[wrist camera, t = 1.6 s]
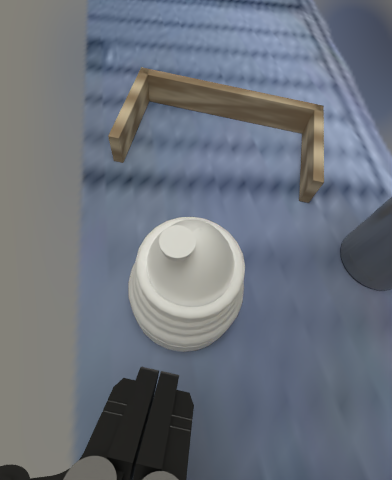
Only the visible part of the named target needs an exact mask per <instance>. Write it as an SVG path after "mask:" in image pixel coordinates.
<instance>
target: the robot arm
mask: <svg viewBox="0 0 392 480" xmlns="http://www.w3.org/2000/svg"><path fill="white" fill-rule="evenodd" d="M341 258H342V261H343V264H344V266H345V267H346V269H347V271H348V272H349V273H350V274H351V276H352V277H354V278H355V279H356V280H357V281H358V282H360V283H361V284H363V285H365V286H367V287H369V288H372V289H375V290H390V289H392V197H391V198H390V199H389V200H388V201H386V202H385V203H384V204H383V205H382V206H381V207H380V208H378V209H377V210H376V211H375V212H374V213H373V214H372V215H370V216H369V217H368V218H367V219H366V220H365V221H364V222H362V223H361V224H360V225H359V226H358V227H357V228H356V229H354V230H353V231H352V232H351V233H350V234H349V235H348V236H347V237H346V238H345V239H344V240H343V243H342V245H341ZM158 374H159V371H158V370H154V369H149V368H145V367H141V368H140V370H139V373H138V375H137V378H136V381H135V380H130V379H126V378H123V379H122V380H121V381H120V382H119V383H118V384H116V385H115V386H114V387H113V390H112V392H111V394H110V396H109V398H108V401H107V403H106V405H105V407H104V409H103V412H102V414H101V416H100V418H99V420H98V423H97V425H96V427H95V429H94V431H93V434H92V436H91V438H90V440H89V442H88V445H87V447H86V449H85V451H84V453H83V455H82V457H81V458H80V459H79V461H78V462H76V463H75V464H74V465H73V466H72V467H71V468H70V469H68V470H66V471H64V472H63V473H60V474H57V475H53V476H47V477H39V478H32V479H30V477H29V474H28V472H27V471H26V470H25V469H24V468H22V467H20V466H17V465H4V466H0V480H186V475H187V465H188V456H189V446H190V436H191V427H192V417H193V408H194V405H193V402H192V399H191V396H190V393H188V392H183V391H179V390H176V389H177V384H178V378H179V375H176V374H172V373H167V372H163V371H161V373H160V377H159V380H158V384H157V379H158ZM156 384H157V388H156ZM155 389H156V391H155ZM154 394H155V395H154Z"/></svg>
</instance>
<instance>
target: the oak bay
mask: <svg viewBox="0 0 392 480" xmlns="http://www.w3.org/2000/svg"><path fill="white" fill-rule="evenodd" d="M149 101H151V102H156V103H160V104H165V105H170V106H175V107H179V108H184V109H189V110H193V111H198V112H203V113H208V114H212V115H217V116H222V117H226V118H231V119H236V120H240V121H245V122H250V123H255V124H259V125H264V126H269V127H273V128H278V129H283V130H288V131H292V132H297V133H302V149H301V172H300V195H299V201H302V202H307V203H309V202H310V201H311V199H312V198H313V196H314V195H315V194H316V192H317V191H318V190H319V188H320V187H321V186H322V184H323V183H324V117H323V106H322V105H317V104H313V103H308V102H303V101H298V100H294V99H289V98H284V97H279V96H275V95H270V94H265V93H260V92H256V91H251V90H246V89H241V88H237V87H232V86H227V85H222V84H218V83H213V82H208V81H203V80H199V79H194V78H189V77H184V76H180V75H175V74H170V73H165V72H161V71H156V70H151V69H146V68H142V67H141V69H140V71H139V73H138V76H137V78H136V80H135V82H134V84H133V86H132V88H131V90H130V92H129V94H128V96H127V98H126V100H125V103H124V105H123V107H122V109H121V111H120V113H119V115H118V117H117V119H116V121H115V123H114V125H113V127H112V130H111V132H110V134H109V136H108V137H109V141H110V146H111V150H112V154H113V159H114V161H118V162H122V163H123V162H124V160H125V157H126V155H127V153H128V150H129V148H130V146H131V143H132V141H133V138H134V136H135V134H136V131H137V129H138V127H139V124H140V122H141V120H142V117H143V115H144V112H145V110H146V108H147V105H148V103H149Z"/></svg>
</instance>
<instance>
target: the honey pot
mask: <svg viewBox="0 0 392 480" xmlns="http://www.w3.org/2000/svg"><path fill="white" fill-rule="evenodd" d="M244 273H245V263H244V258H243V253H242V251H241V249H240V247H239V245H238V243H237V242H236V240H235V239H234V238H233V237H232V236H231V234H230V233H229V232H228V231H226V230H225V229H224V228H222V227H221V226H219V225H218V224H216V223H213V222H211V221H209V220H206V219H202V218H196V217H180V218H176V219H172V220H169V221H166V222H164V223H163V224H161V225H159V226H157V227H155V228H154V229H153V230H152V231H151V232H150V233H149V234H148V235H147V236H146V237H145V239H144V241H143V242H142V244H141V246H140V247H139V251H138V254H137V258H136V262H135V264H134V265H133V268H132V271H131V275H130V279H129V300H130V303H131V307H132V310H133V313H134V316H135V318H136V320H137V322H138V324H139V326H140V327H141V329H142V330H143V332H144V333H145V334H146V335H147V336H148V337H149V338H150V339H151V340H152V341H153V342H155V343H156V344H158V345H160V346H162V347H164V348H166V349H170V350H175V351H181V352H185V351H195V350H199V349H201V348H204V347H206V346H209V345H210V344H212V343H213V342H214V341H216V340H217V339H218V338H220V337H221V336H222V335H223V334H224V333H225V331H226V330H227V329H228V328H229V327H230V325H231V324H232V323H233V321H234V320H235V319H236V317H237V316H238V313H239V310H240V308H241V305H242V302H243V290H244V285H243V282H244Z"/></svg>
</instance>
